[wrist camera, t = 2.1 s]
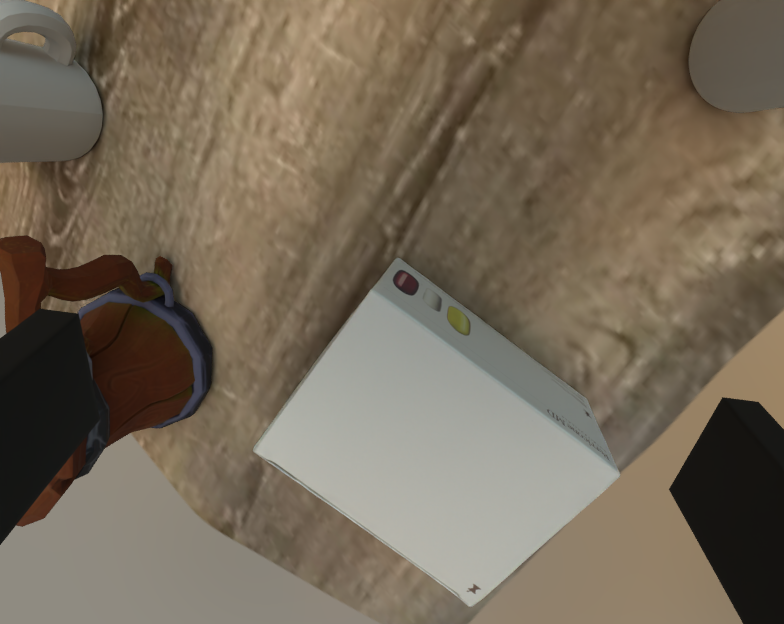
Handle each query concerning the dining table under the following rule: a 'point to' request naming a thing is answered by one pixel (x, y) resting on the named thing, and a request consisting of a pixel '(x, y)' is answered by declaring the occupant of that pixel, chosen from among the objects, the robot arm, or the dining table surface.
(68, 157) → the cup
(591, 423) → the supplement box
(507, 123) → the dining table surface
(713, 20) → the beverage can
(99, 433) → the mug
